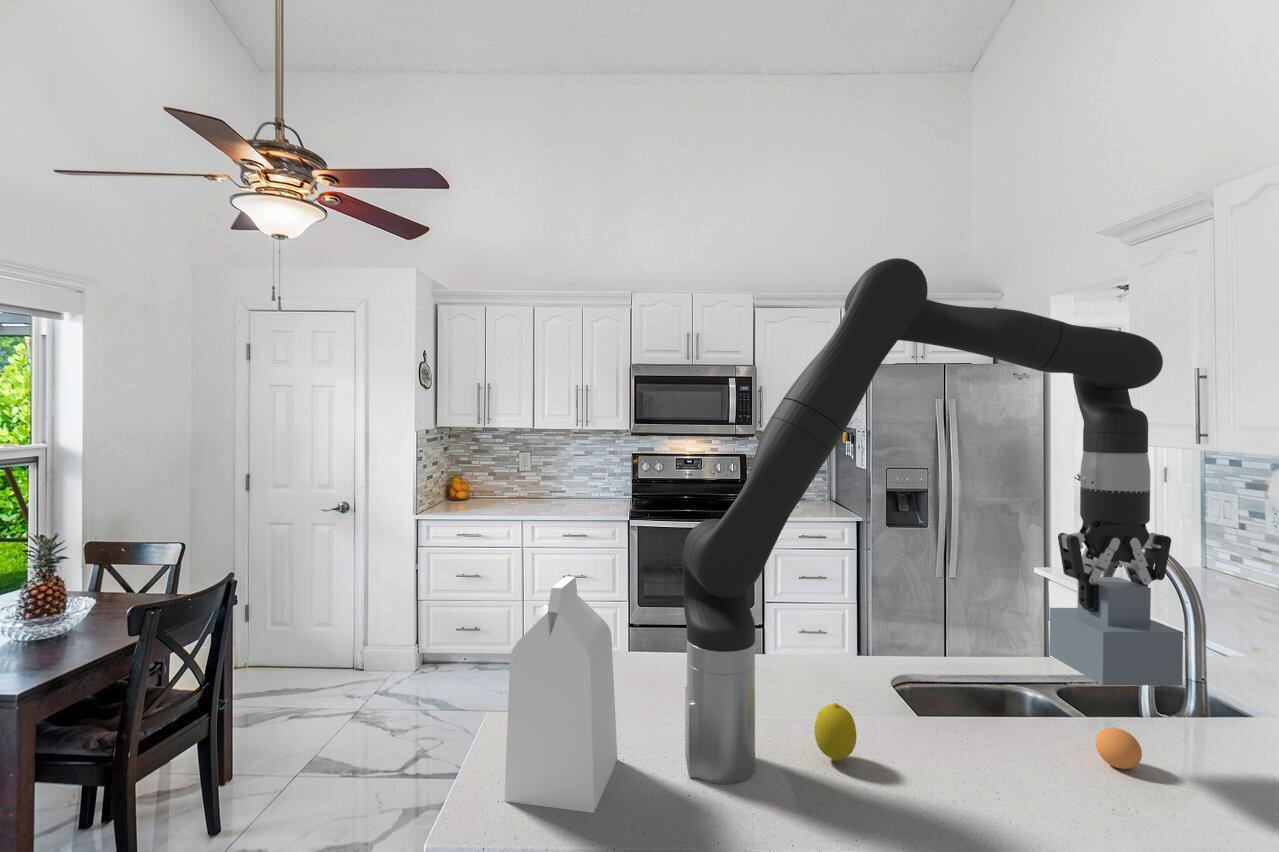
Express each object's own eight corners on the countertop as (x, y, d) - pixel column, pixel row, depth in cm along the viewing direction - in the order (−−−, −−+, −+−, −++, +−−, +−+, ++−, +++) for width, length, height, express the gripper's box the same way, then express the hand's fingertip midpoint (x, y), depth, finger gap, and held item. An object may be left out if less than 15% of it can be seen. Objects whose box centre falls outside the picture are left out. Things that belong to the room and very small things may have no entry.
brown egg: (1141, 782, 83) (1108, 767, 83) (1112, 761, 88) (1080, 747, 88) (1158, 749, 83) (1125, 733, 82) (1127, 729, 88) (1096, 715, 87)
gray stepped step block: (1102, 685, 80) (1103, 592, 79) (1049, 654, 90) (1050, 572, 90) (1182, 685, 80) (1183, 592, 80) (1120, 654, 90) (1121, 573, 90)
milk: (594, 812, 75) (593, 597, 75) (504, 801, 78) (503, 592, 77) (617, 759, 87) (617, 573, 87) (539, 750, 89) (538, 569, 89)
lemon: (859, 774, 83) (859, 714, 83) (815, 769, 84) (816, 710, 84) (853, 752, 89) (853, 696, 89) (813, 748, 90) (813, 693, 90)
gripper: (1081, 489, 81) (1079, 619, 81) (1192, 489, 81) (1190, 619, 81) (1043, 483, 88) (1042, 602, 88) (1144, 483, 88) (1143, 602, 88)
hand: (1113, 610), depth 85 cm, fingers closed on gray stepped step block, 5 cm apart
